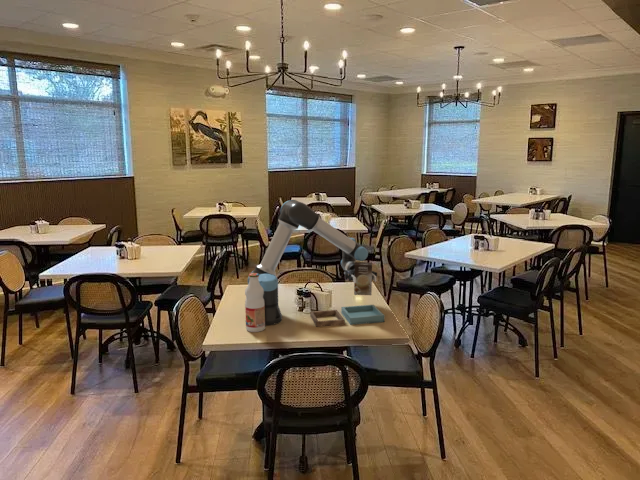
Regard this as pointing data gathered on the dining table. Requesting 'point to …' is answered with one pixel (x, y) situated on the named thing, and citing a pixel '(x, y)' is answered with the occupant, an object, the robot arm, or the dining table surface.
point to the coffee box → (363, 278)
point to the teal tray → (362, 314)
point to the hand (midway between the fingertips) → (365, 279)
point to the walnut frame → (328, 322)
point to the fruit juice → (254, 305)
